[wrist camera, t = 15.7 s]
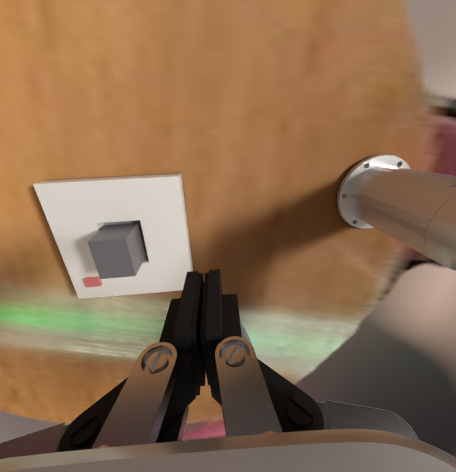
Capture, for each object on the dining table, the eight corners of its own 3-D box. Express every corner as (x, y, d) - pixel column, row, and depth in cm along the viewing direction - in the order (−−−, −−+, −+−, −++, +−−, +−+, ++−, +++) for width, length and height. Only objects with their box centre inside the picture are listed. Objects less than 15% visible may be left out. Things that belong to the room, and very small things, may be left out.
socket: (181, 172, 35) (178, 176, 31) (194, 279, 43) (193, 291, 40) (47, 180, 33) (29, 184, 30) (87, 288, 42) (77, 301, 38)
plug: (140, 220, 36) (125, 238, 30) (147, 252, 39) (135, 276, 32) (109, 222, 36) (87, 241, 29) (118, 254, 38) (100, 279, 32)
